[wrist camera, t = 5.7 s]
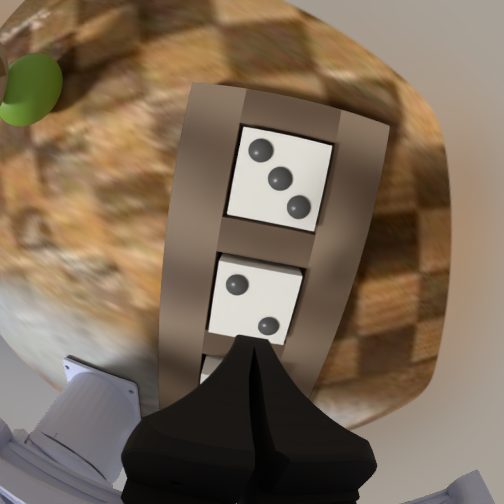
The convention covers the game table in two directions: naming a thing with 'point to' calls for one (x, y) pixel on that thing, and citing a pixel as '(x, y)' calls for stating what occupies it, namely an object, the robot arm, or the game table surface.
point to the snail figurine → (28, 87)
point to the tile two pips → (254, 298)
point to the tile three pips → (279, 178)
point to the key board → (261, 229)
